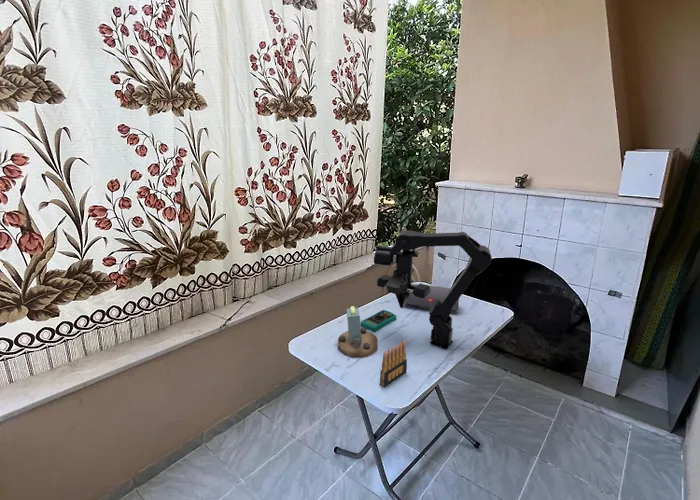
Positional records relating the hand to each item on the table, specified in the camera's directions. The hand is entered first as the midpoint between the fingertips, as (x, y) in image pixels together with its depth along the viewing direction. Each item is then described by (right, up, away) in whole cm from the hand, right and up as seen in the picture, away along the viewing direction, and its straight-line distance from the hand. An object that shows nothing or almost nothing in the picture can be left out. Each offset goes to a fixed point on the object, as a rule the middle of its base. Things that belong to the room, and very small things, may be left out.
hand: (401, 307), depth 136 cm
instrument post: (-17, -11, -3) cm, 20 cm away
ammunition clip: (-5, -19, -20) cm, 28 cm away
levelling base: (-17, -13, -2) cm, 22 cm away
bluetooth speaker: (+16, -4, +27) cm, 32 cm away
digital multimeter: (-7, -9, +14) cm, 18 cm away
